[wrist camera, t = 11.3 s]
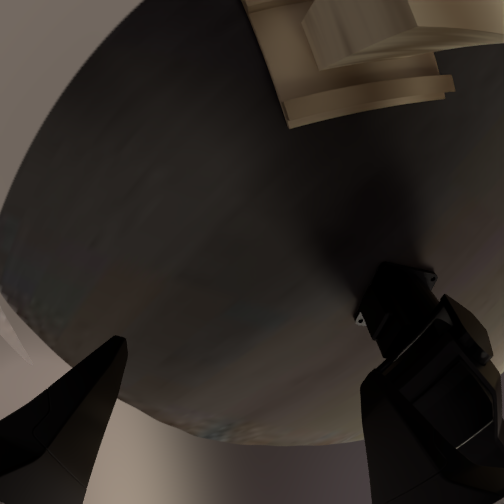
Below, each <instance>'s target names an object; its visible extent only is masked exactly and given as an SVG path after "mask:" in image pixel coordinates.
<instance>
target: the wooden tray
mask: <svg viewBox="0 0 504 504" xmlns="http://www.w3.org/2000/svg"><path fill="white" fill-rule="evenodd" d="M241 2H242V4H243V6H244V9H245V11H246V13H247V16H248V18H249V21H250V23H251V26H252V28H253V31H254V33H255V36H256V38H257V41H258V43H259V46H260V49H261V51H262V54H263V56H264V59H265V62H266V65H267V67H268V70H269V73H270V76H271V78H272V81H273V84H274V87H275V90H276V93H277V96H278V99H279V102H280V105H281V108H282V111H283V114H284V117H285V120H286V123H287V126H288V128H289V129H292V128H295V127H299V126H303V125H307V124H310V123H314V122H318V121H322V120H327V119H331V118H335V117H340V116H344V115H349V114H353V113H358V112H363V111H368V110H373V109H379V108H384V107H390V106H396V105H402V104H409V103H416V102H423V101H431V100H439V99H445V95H444V92H455V87H454V83H453V79H452V75H440V74H439V70H438V66H437V63H436V59H435V56H434V53H433V52H430V53H425V54H420V55H415V56H410V57H406V58H402V59H393V60H383V61H375V62H367V63H360V64H354V65H348V66H342V67H336V68H331V69H326V70H321V71H319V69H318V66H317V63H316V61H315V58H314V55H313V52H312V50H311V47H310V44H309V42H308V39H307V36H306V34H305V31H304V29H303V26H302V24H301V22H302V20H303V19H304V17H305V15H306V14H307V12H308V10H309V9H310V7H311V5H312V4H313V2H314V0H241Z"/></svg>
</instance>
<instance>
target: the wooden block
mask: <svg viewBox="0 0 504 504" xmlns="http://www.w3.org/2000/svg"><path fill="white" fill-rule="evenodd" d="M301 24H302V26H303V29H304V31H305V34H306V36H307V39H308V42H309V44H310V47H311V50H312V52H313V55H314V58H315V61H316V63H317V66H318V69H319V71H321V70H326V69H331V68H336V67H342V66H348V65H354V64H360V63H367V62H375V61H383V60H393V59H402V58H406V57H410V56H415V55H420V54H425V53H430V52H435V51H441V50H447V49H453V48H460V47H467V46H475V45H485V44H496V43H504V0H314V2H313V4H312V5H311V7H310V9H309V10H308V12H307V14H306V15H305V17H304V19H303V20H302V22H301Z"/></svg>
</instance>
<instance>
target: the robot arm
mask: <svg viewBox="0 0 504 504" xmlns="http://www.w3.org/2000/svg"><path fill="white" fill-rule="evenodd" d="M385 267H387V268H386V269H384V268H385ZM383 269H384V270H383ZM432 277H433V278H432ZM431 278H432V279H431ZM436 281H437V275H436V274H435V273H434V272H431V271H426V270H422V269H417V268H413V267H408V266H404V265H399V264H394V263H390V262H383V263H381V264H380V266H379V268H378V270H377V272H376V274H375V277H374V279H373V281H372V283H371V285H370V286H369V288H368V290H367V292H366V294H365V296H364V298H363V300H362V302H361V304H360V306H359V310H358V312H357V314H356V316H355V319H354V320H355V323H356V324H357V325H362V326H367V328H368V330H369V333H370V335H371V337H372V339H373V340H375V341H376V342H377V344H378V346H379V349H380V351H381V354H382V356H383V358H387V359H386V360H385V361H384V362H383V363H382V364H380V365H379V366H378V367H377V368H376V369H373V370H372V371H371V372H370V373H369V374H368V376H367V377H366V378H365V380H364V381H363V382H362V384H361V387H360V395H361V413H362V425H363V432H364V439H365V446H366V453H367V460H368V469H369V477H370V487H371V498H372V504H504V420H503V418H502V389H501V376H500V373H499V371H498V370H497V369H496V367H495V366H494V364H493V363H492V362H491V360H490V359H491V358H492V357H493V351H492V347H491V344H490V340H489V337H488V333H487V331H486V329H485V328H484V327H483V325H482V324H481V323H480V322H479V321H478V319H477V318H476V317H475V316H474V315H473V314H472V313H471V312H470V311H469V310H467V309H466V308H465V307H463V306H462V305H460V304H459V303H458V302H456V301H455V300H453V299H452V298H450V297H449V296H448V295H446V294H444V295H443V296H442V298H441V299H440V300H441V301H440V302H439V301H438V300H437V298H436V297H435V296H434V294H433V293H432V292H431V290H432V288H433V286H434V284H435V282H436ZM359 319H361V320H359ZM127 358H128V350H127V342H126V339H125V338H124V337H120V336H116V335H115V336H113V337H112V338H110V339H109V340H108V341H107V342H105V343H104V344H103V345H101V346H100V347H99V348H98V349H96V350H95V351H94V352H92V353H91V354H90V355H89V356H87V357H86V358H85V359H84V360H82V361H81V362H80V363H78V364H77V365H76V366H75V367H73V368H72V369H71V370H70V371H68V372H67V373H66V374H65V375H63V376H62V377H61V378H60V379H58V380H57V381H56V382H55V383H53V384H52V385H51V386H50V387H49V388H48V389H46V390H44V391H43V392H42V393H41V394H39V395H38V396H37V397H35V398H34V399H33V400H32V401H30V402H29V403H27V404H26V405H24V406H23V407H21V408H20V409H18V410H16V411H15V412H13V413H12V414H10V415H8V416H7V417H5V418H3V419H2V420H0V504H83V500H84V496H85V493H86V488H87V486H88V482H89V479H90V476H91V472H92V469H93V466H94V463H95V460H96V457H97V454H98V450H99V447H100V444H101V441H102V439H103V436H104V432H105V430H106V427H107V424H108V421H109V419H110V416H111V413H112V410H113V407H114V405H115V402H116V400H117V397H118V393H119V389H120V385H121V381H122V377H123V373H124V369H125V366H126V362H127Z"/></svg>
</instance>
